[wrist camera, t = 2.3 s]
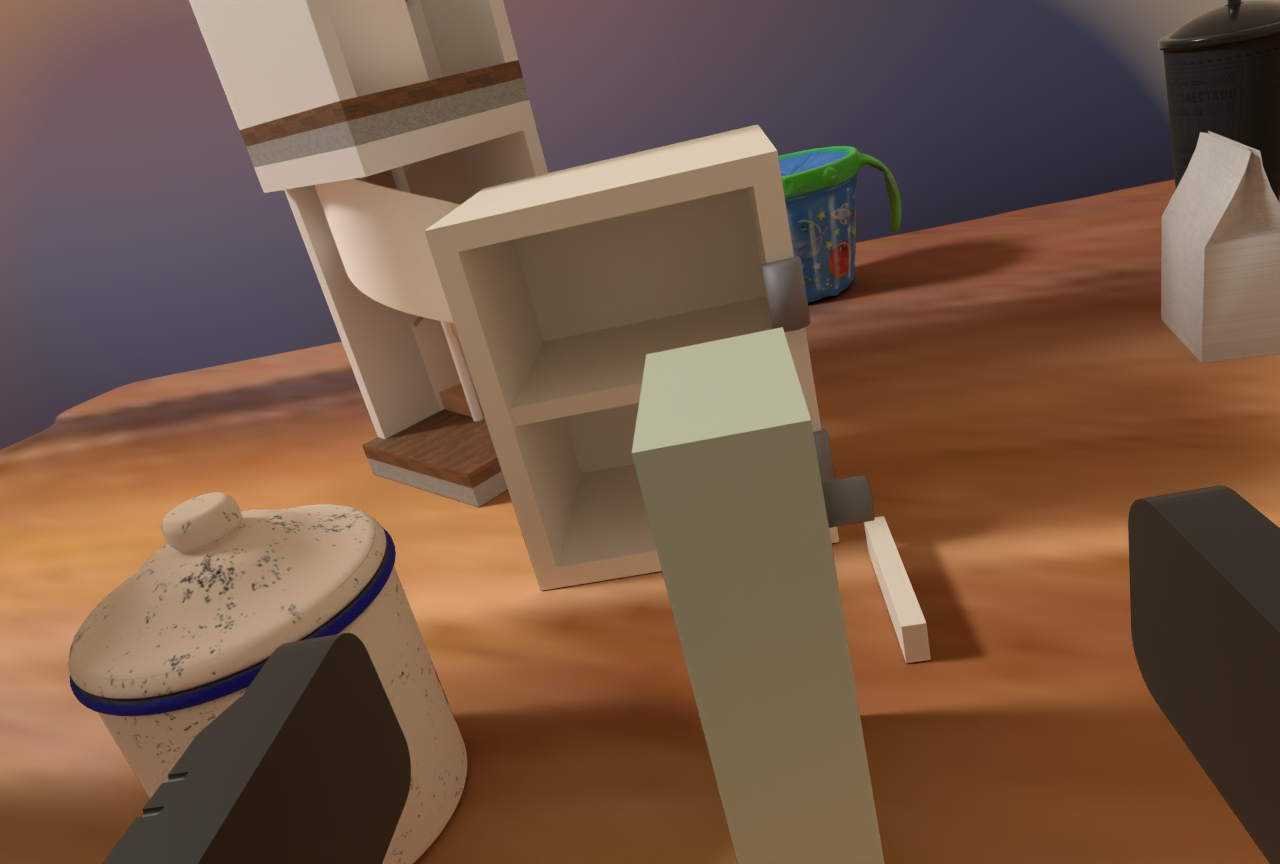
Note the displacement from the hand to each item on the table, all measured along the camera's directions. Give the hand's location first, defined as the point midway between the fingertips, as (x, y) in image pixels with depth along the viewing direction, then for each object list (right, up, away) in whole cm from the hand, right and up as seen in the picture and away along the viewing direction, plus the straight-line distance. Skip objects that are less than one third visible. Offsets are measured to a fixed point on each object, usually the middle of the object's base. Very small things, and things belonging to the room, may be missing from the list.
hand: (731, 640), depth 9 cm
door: (+4, -8, +16) cm, 18 cm away
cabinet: (+2, -3, +29) cm, 29 cm away
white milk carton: (+30, +7, +37) cm, 48 cm away
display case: (-10, +1, +46) cm, 47 cm away
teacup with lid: (-12, -11, +20) cm, 26 cm away
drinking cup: (+37, +14, +48) cm, 62 cm away
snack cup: (+12, +13, +61) cm, 63 cm away
